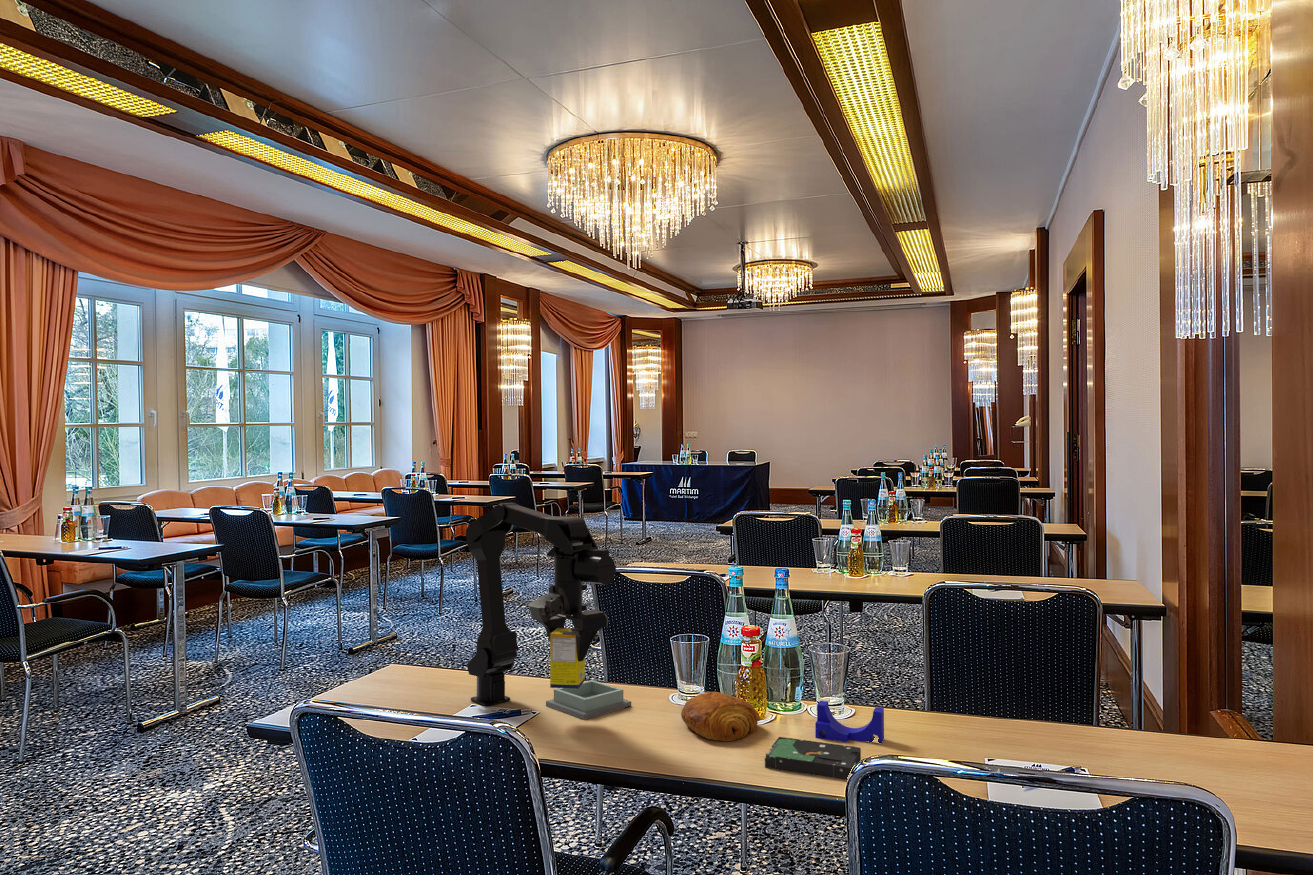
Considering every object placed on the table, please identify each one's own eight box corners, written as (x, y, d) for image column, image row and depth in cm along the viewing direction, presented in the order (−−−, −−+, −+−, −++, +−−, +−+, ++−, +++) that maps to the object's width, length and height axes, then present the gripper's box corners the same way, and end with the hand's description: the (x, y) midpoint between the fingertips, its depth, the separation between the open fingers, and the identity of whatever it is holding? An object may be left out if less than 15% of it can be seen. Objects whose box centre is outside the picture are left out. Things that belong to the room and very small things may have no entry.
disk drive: (861, 762, 143) (778, 750, 148) (861, 746, 143) (778, 735, 148) (852, 784, 133) (763, 770, 139) (852, 767, 133) (764, 754, 139)
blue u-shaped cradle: (815, 738, 154) (815, 706, 154) (820, 731, 158) (820, 700, 158) (880, 747, 149) (880, 714, 149) (884, 740, 153) (883, 707, 153)
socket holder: (545, 705, 174) (545, 689, 174) (592, 693, 183) (592, 677, 183) (583, 719, 165) (583, 702, 165) (631, 706, 174) (631, 689, 174)
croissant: (700, 758, 150) (701, 716, 149) (672, 720, 164) (673, 683, 163) (771, 747, 154) (772, 706, 153) (737, 711, 169) (738, 674, 168)
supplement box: (585, 681, 167) (585, 627, 167) (578, 689, 161) (579, 634, 161) (556, 680, 168) (557, 626, 168) (549, 688, 162) (550, 633, 162)
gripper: (509, 578, 166) (508, 655, 166) (563, 589, 153) (562, 673, 152) (554, 573, 174) (553, 646, 173) (609, 583, 160) (608, 663, 160)
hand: (567, 657), depth 164 cm, fingers closed on supplement box, 8 cm apart
